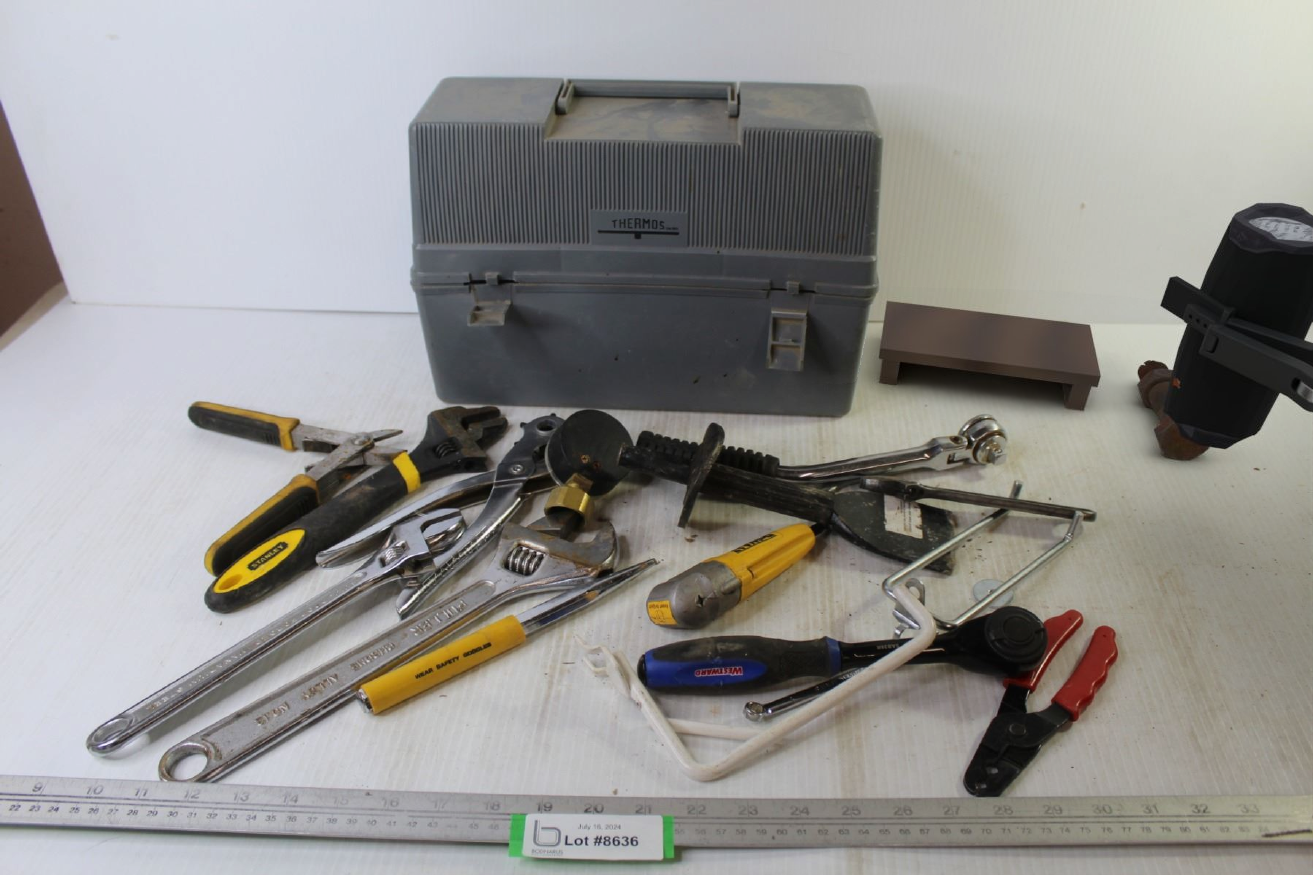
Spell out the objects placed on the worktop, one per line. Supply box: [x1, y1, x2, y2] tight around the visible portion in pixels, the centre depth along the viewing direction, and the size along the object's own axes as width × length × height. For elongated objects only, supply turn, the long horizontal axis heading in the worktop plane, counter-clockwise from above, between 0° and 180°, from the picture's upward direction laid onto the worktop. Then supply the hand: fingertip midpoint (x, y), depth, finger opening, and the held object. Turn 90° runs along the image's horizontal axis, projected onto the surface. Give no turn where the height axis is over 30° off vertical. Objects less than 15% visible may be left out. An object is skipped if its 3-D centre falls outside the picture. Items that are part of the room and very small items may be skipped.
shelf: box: [878, 300, 1102, 411], centre depth 115 cm, size 24×12×5 cm, turn 75°
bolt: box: [1136, 359, 1211, 461], centre depth 107 cm, size 6×5×15 cm
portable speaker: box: [1163, 202, 1313, 450], centre depth 82 cm, size 9×9×20 cm
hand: (1213, 282), depth 84 cm, fingers closed on portable speaker, 9 cm apart
